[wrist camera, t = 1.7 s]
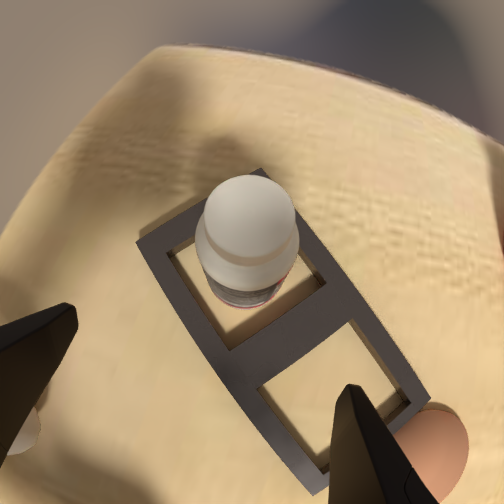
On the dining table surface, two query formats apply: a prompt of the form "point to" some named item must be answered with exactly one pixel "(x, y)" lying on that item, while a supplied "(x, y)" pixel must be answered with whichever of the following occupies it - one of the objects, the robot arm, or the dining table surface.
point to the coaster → (435, 449)
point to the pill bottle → (247, 240)
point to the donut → (26, 434)
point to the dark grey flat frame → (282, 336)
